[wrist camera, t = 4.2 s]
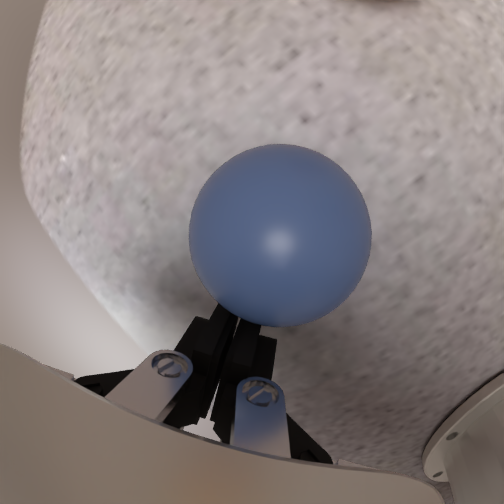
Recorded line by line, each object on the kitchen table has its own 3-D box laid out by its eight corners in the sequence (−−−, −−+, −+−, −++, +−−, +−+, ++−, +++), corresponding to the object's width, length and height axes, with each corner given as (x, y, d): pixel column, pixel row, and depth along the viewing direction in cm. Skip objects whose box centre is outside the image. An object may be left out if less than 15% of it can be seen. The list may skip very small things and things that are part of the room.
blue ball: (362, 275, 12) (405, 340, 6) (234, 300, 13) (195, 374, 7) (335, 141, 11) (368, 106, 5) (201, 173, 12) (132, 168, 6)
